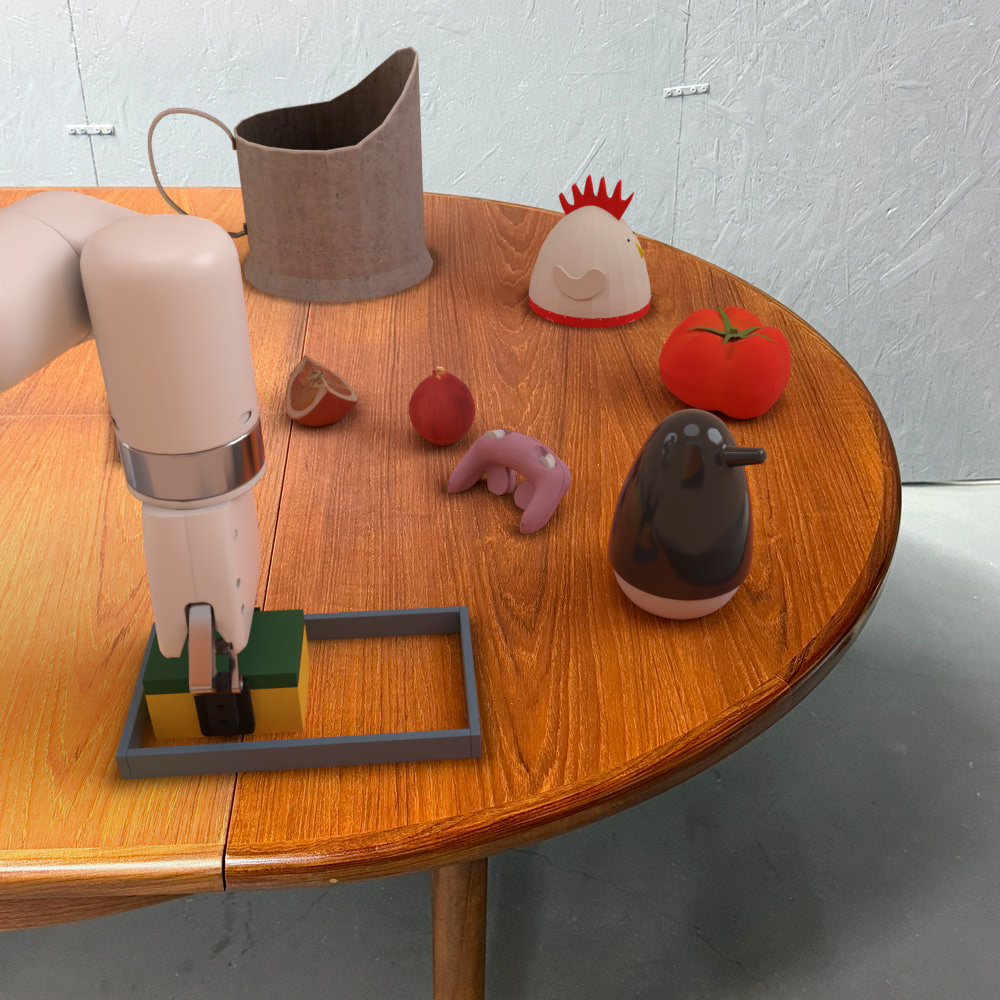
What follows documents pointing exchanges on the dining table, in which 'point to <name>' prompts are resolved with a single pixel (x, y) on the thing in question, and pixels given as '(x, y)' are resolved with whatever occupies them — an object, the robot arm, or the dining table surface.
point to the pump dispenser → (685, 518)
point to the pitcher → (333, 190)
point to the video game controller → (500, 460)
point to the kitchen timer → (591, 264)
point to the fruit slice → (317, 394)
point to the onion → (442, 408)
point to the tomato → (726, 362)
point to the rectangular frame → (321, 749)
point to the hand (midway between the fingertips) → (235, 691)
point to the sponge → (265, 663)
